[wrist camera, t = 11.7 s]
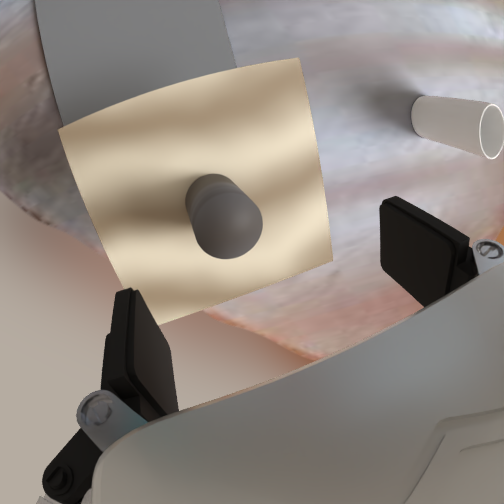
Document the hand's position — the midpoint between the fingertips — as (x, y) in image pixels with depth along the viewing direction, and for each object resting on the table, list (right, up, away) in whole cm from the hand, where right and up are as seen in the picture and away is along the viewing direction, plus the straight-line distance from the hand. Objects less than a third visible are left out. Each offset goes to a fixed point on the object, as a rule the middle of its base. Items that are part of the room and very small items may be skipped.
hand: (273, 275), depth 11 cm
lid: (-4, +5, +10) cm, 12 cm away
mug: (+25, +20, +26) cm, 41 cm away
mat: (-13, +23, +11) cm, 29 cm away
